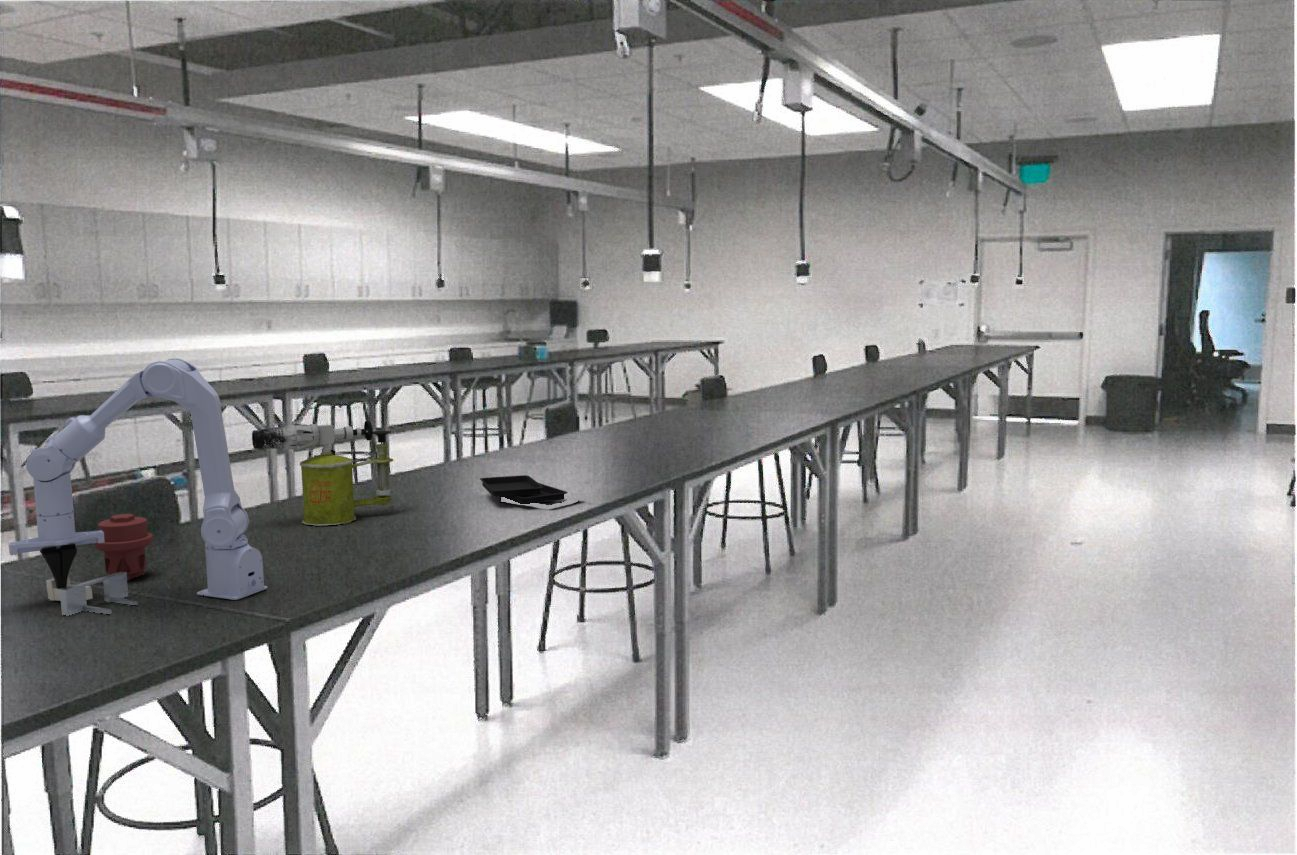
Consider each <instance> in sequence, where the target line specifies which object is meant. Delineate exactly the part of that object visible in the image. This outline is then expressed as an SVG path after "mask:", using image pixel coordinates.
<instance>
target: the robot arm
mask: <svg viewBox="0 0 1297 855" xmlns="http://www.w3.org/2000/svg"><path fill="white" fill-rule="evenodd" d="M152 397H157V398H161V399H165V400H168V401H172V402H174V403H176V404H178V405H180V406H181V407H183V408H185V409H186V410H188V411H189V412H190V417H191V421H192V422H191V423H192V428H193V434H194V435H193V436H194V441H195V446H196V452H197V453H196V455H197V458H198V464H199V465H198V466H199V471H200V476H201V477H200V478H201V483H202V488H203V495H204V499H203V501H204V502H203V509H202V511H203V512H202V513H203V521H202V524H201V527H200V536H201V537H202V540H203V542H204V543H205V544H204V547H205V548H204V549H205V563H206V567H205V568H206V576H207V577H206V578H207V580H206V581H207V582H206V583H207V588H205V589H202V590H200V591H197V592H196V595H197V596H203V595H204V596H203V597H210V598H211V597H212V598H218V599H225V600H226V599H227V600H232V601H237V600H241V599H243V598H247V597H248V596H251V595H254V594H257V593H260V592H261V591H264V590H267V589H268V586H267V585H265V583H264V582H265V581H264V580H265V579H264V578H265V577H264V564H263V555H262V554H261V552H260V550H259V549H258V548H255V547H252V546H251V545H250V544H249V542H248V538H247V536H246V535H245V534H244V533H245V532H246V531H247V529H248V527H249V523H250V521H249V520H250V519H249V518H250V517H249V515H248V512H247V511H246V509H244V508H243V507H244V506H242V503H241V497H240V496H239V494H238V493H237V492H236V491H235V487H234V480H233V474H232V468H231V461H230V455H229V449H228V448H229V447H228V442H227V436H226V430H225V425H224V418H223V412H222V407H221V400H220V396H219V394H218V392H217V391H216V390H215V389H214V388H213V387H212V386H211V385H210V383H209V382H208V381H207V380H206V379H205V377H204V376H203V375H202V374H201V372H200V370H199V368H198V367H197V366H195V365H193V364H191V363H190V362H188V361H186V360H183V359H182V358H176V357H174V358H169V359H166V360H157V361H153V362H151V363H149V364H148V365H147V366H146V367H145V368H144V369H142V370H140V371H138V372H137V373H135V374H134V375H132V376H131V377H130V378H128V380H127V381H125V383H123V384H122V385H121V386H120V387H119V388H118V389H117V390H116V391H115V392H113V394H111V395H110V396H109V398H108V399H107V400H105V401H104V402H103V403H102V404H101V405H100V406H99V407H98V408H97V409H96V410H95V411H93V412H92V414H90V415H82V414H81V415H80V414H79V415H77V417H69V418H68V419H67V420H66V421H65V422H64V424H65V427H64V428H63V429H61V430H60V431H59V432H58V433H57V434H55V436H53V437H52V436H51V437H50V436H49V437H47V439H46V440H44V442H45V444H46V446H45V447H43V446H42V447H38V448H35V449H33V450H32V451H31V452H30V454H29V455H28V457H27V458H26V462H25V465H26V466H25V467H26V471H27V473H28V474H29V475H30V476H31V477H32V478H33V479H32V480H33V491H34V492H33V493H34V504H35V516H36V526H37V528H36V529H37V537H33V538H28V539H27V538H26V539H22V540H18V541H12V542H8V553H9V555H10V556H17V555H20V554H25V553H30V552H32V553H33V552H39V553H40V554H41V556H42V557H43V559H44V561H45V562H46V564H47V565H48V567H49V569H50V571H51V573H52V576H53V579H55V583H56V587H57V588H58V589H61V588H66V587H67V578H68V577H69V573H70V570H71V568H72V565H73V562H74V560H75V557H76V555H77V553H78V548H77V547H76V546H81V545H82V546H83V545H89V544H94V543H103V542H105V541H104V532H103V531H102V530H100V531H98V530H93V531H79V532H77V531H76V525H75V524H76V523H75V512H74V498H73V490H72V489H73V487H72V478H71V476H72V475H71V473H72V471H73V470H74V469H75V466H76V464H77V463H79V461H81V459H83V458H84V457H85V456H86V455H88V454H89V453H90V452H91V451H92V450H93V449H95V448H96V447H97V446H98V445H99V444H100V443H101V442H102V441H103V440H105V438H106V428H107V427H108V426H109V425H111V424H112V423H113V422H114V421H115V420H117V419H118V418H120V417H121V416H122V415H123V414H124V413H125V412H127V411H128V410H130V408H132V407H133V406H135V404H137V403H138V402H139V401H140V400H144V399H147V398H152Z"/></svg>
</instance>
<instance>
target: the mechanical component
mask: <svg viewBox="0 0 1297 855" xmlns="http://www.w3.org/2000/svg"><path fill="white" fill-rule="evenodd" d="M97 528H98V530H97V531H100V530H102V531H103V532H104V541H105V542H103V543H93V544H94V549H96V550H98V551H100V552H103V554H104V566H105V567H104V569H105V573H106V575H111V574H114V573H117V572H126V573H127V581H128V580H129V581H131V580H133V579H135V578H134V577H136V576H139V577H141V576H140V575H143V576H144V575H145V574H146V572H145V570H146V569H147V558H146V557H147V556H146V547H148V546H150V545H152V543H153V542H154V535H153V534H152V533H151V532H148V530H149V529H148V519H147V517H146V518H145V517H142V516H135V515H134V514H132V513H120V514H116V515H112V516H111V517H109V519H105V520H103V521H102V520H101V521H100V522H99V523H97ZM132 578H133V579H132ZM136 578H137V577H136ZM130 579H131V580H130ZM129 581H128V582H129Z"/></svg>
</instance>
